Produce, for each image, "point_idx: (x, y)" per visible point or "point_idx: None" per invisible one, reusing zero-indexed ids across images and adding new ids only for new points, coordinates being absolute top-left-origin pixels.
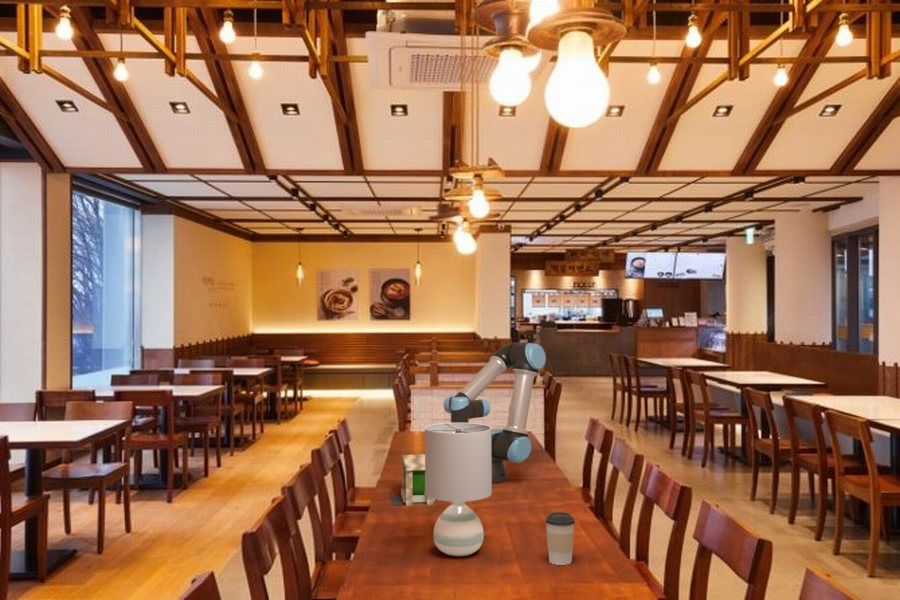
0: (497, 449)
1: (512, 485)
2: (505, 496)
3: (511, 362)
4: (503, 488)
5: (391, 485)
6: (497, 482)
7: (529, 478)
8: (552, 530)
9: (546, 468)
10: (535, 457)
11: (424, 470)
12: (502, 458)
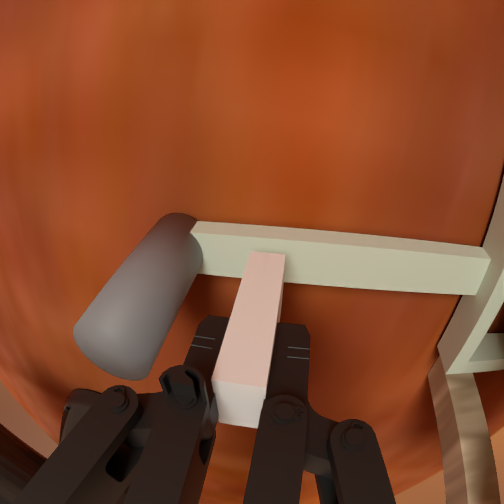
0: (18, 489)
1: (38, 349)
2: (12, 203)
3: None
4: (51, 330)
5: None
6: (88, 391)
7: (28, 381)
8: None
9: (32, 413)
10: None
11: (487, 472)
12: (20, 449)
